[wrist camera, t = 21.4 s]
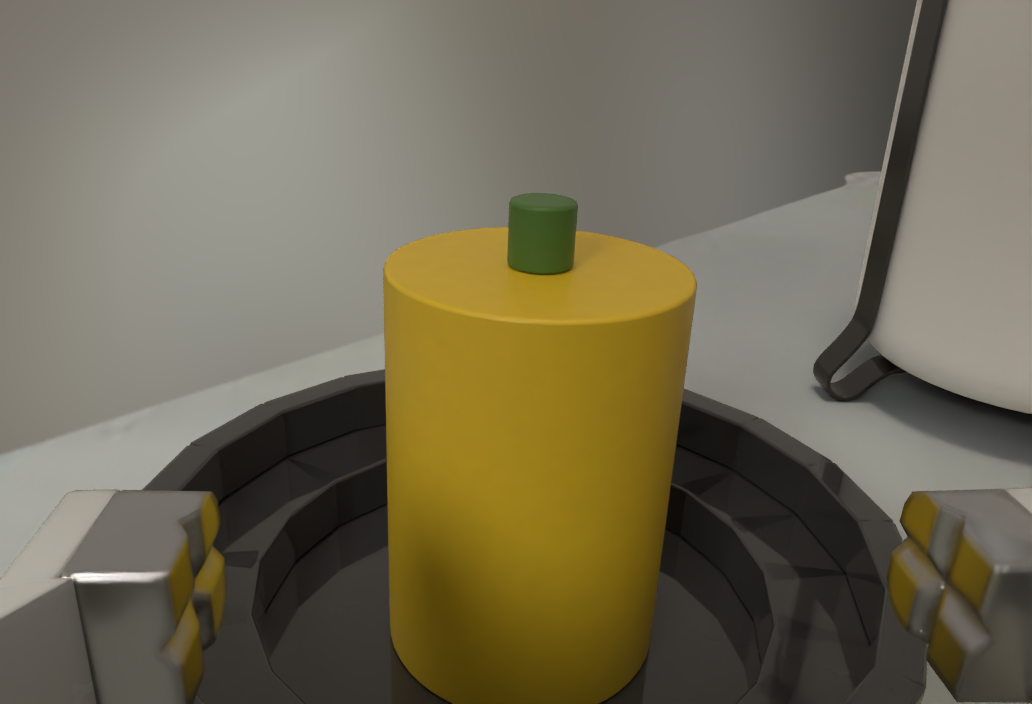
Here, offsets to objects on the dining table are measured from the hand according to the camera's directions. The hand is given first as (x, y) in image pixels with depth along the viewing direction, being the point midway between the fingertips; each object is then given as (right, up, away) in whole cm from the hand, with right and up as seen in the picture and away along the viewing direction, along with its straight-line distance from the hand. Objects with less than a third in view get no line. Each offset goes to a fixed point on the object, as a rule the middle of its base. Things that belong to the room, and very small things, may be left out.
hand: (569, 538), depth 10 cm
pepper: (-1, -4, +8) cm, 9 cm away
